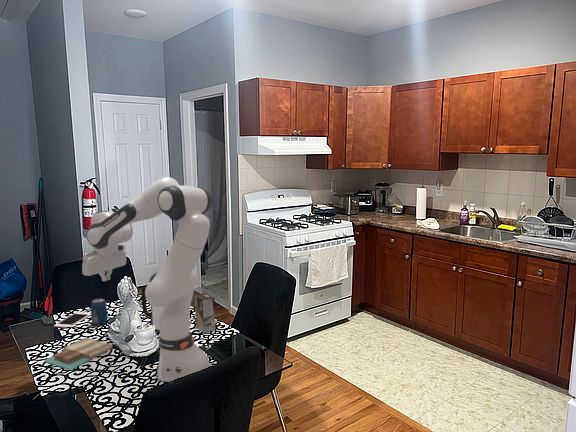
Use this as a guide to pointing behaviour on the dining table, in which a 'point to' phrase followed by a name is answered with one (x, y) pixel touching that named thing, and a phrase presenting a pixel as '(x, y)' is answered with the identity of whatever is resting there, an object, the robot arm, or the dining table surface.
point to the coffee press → (154, 310)
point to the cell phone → (73, 319)
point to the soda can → (98, 312)
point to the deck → (90, 347)
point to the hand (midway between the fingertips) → (106, 280)
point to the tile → (68, 356)
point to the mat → (65, 365)
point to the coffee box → (205, 312)
